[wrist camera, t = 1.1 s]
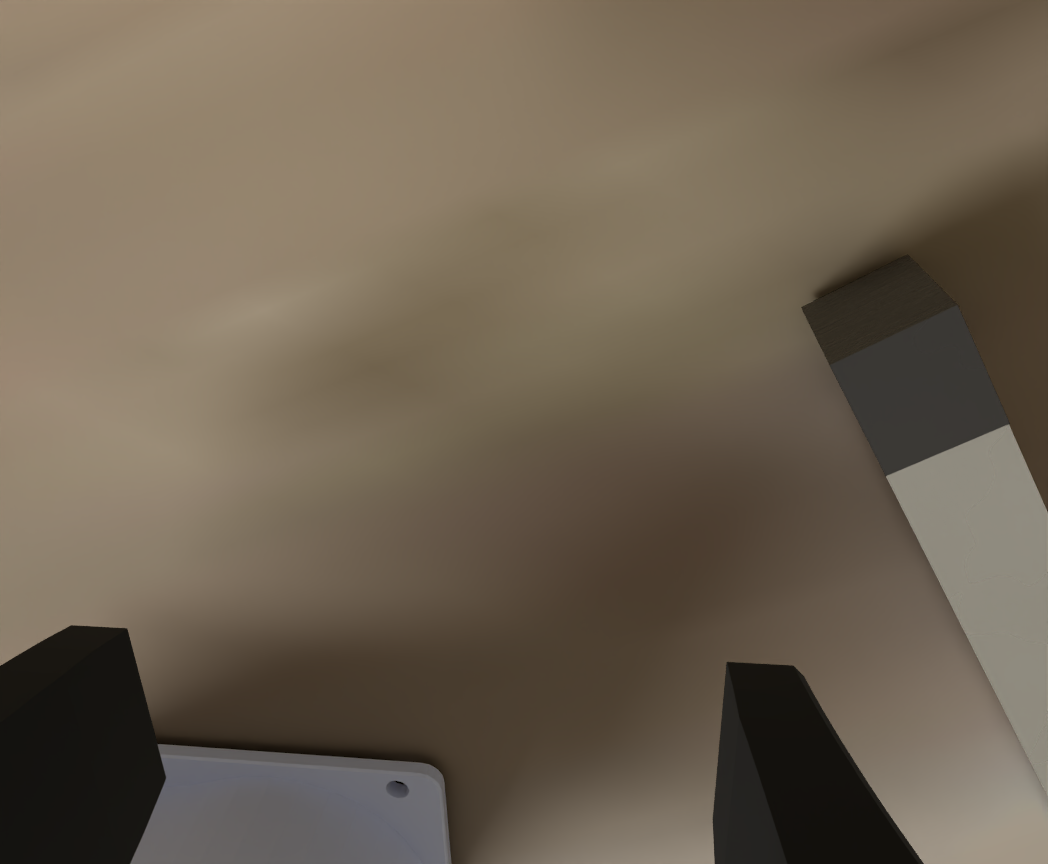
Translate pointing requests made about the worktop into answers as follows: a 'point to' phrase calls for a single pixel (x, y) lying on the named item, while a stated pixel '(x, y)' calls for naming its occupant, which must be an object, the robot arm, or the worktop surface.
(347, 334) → the worktop surface
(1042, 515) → the hinged tong arm
